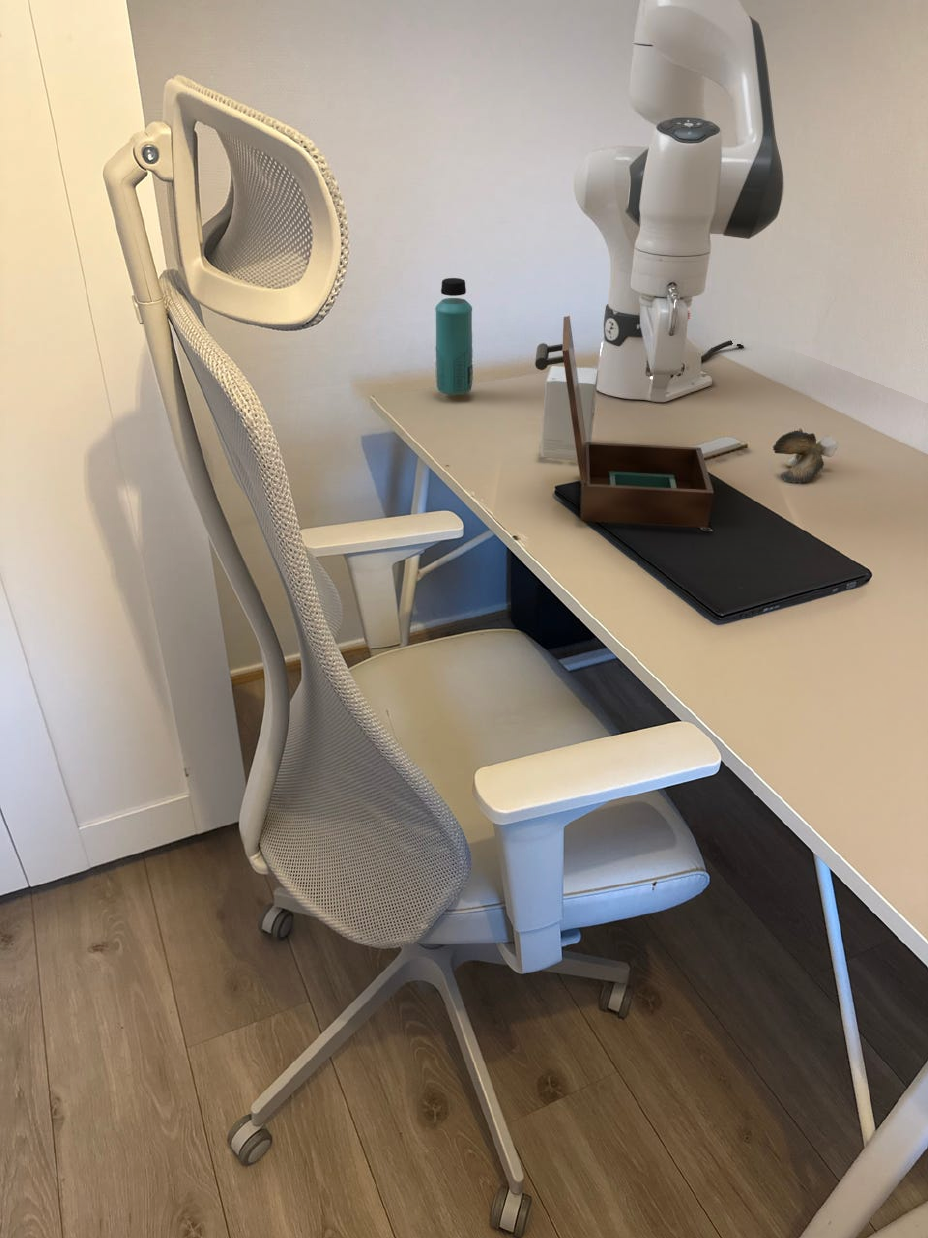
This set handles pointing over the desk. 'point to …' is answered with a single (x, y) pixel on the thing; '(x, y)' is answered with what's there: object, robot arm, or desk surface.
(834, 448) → the eagle figurine
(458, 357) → the beverage bottle
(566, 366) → the lid
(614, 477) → the dish
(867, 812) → the desk surface
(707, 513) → the box
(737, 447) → the harmonica
